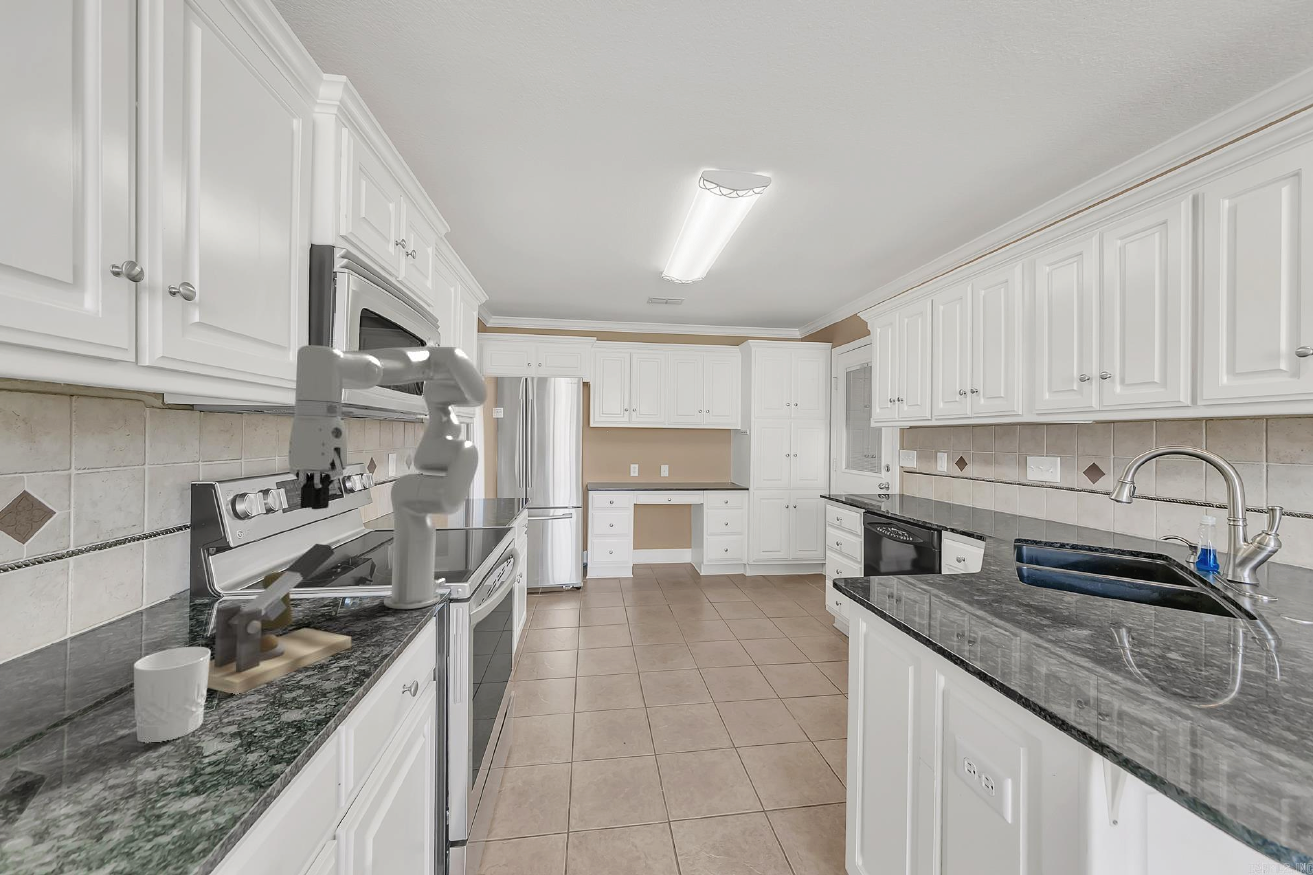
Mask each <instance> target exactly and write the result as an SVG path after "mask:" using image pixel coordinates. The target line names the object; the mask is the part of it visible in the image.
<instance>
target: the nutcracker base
mask: <svg viewBox="0 0 1313 875" xmlns="http://www.w3.org/2000/svg"><path fill="white" fill-rule="evenodd" d="M241 610H242V605H241V604H237V603H235V604H231V605H229V606H224V607H219V608H216V618H215V619H216V621H215V622H216V623H215V640H214V641H215V646H214V659H212V660H211V659H210V665H209V675H208V686H207V689H212V690H216V691H218V692H219V691H220V692H224V693H228V694H231V693H233V694H232V695H234V694H235V696H238V695H240V694H239V693H241V694H242V693H245V692H248V691H249V690H251V689H252V690H253V689H255V688H257V687H259V686H262V685H264V684H266V683H270V682H271V681H274V680H276V679H278V678H280V677H283V676H285V675H288V674H290V673H293V672H295V671H297V670H300V669H302V668H304V667H307V666H309V665H312V664H315V663H317V662H319V661H321V660H324V659H326V658H328V657H331V656H334V655H335V654H338V653H340V652H343V651H345V650H347V649H350V648H351V647H352V636H348V635H344V634H338V633H334V632H329V631H324V630H319V629H318V630H317V629H314V628H313V629H312V628H307V627H304V628H301V629H297V630H295V631H293V632H292V631H291V632H289V633H286V634H283V635H281V636H276V635H274V634H272V633H271V634H265V635H263V636H262V629H261V620H262V609H259V608H255V609H252V610H248V611H245V612H241V613H239V612H240V611H241ZM236 614H238V628H237V629H234V628H232V627H231V626H230V625H229V624H228V621H229V620H230V619H232V618H233V617H234V616H235V615H236ZM237 694H238V695H237Z"/></svg>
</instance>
